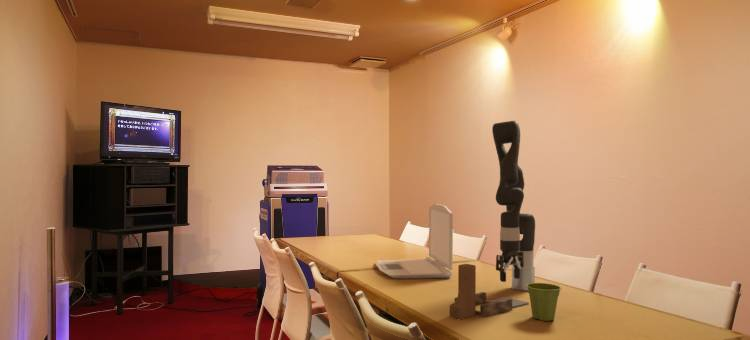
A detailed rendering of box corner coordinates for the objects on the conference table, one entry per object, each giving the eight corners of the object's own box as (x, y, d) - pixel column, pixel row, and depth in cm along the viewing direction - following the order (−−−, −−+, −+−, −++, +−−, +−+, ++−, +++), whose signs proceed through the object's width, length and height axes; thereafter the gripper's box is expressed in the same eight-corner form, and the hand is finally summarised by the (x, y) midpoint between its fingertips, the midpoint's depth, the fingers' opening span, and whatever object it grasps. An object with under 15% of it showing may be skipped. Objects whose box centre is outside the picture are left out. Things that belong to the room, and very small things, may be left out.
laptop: (372, 265, 274) (373, 202, 275) (431, 264, 279) (431, 202, 279) (384, 281, 233) (384, 207, 234) (452, 279, 238) (452, 207, 238)
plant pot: (568, 321, 170) (568, 288, 170) (539, 324, 167) (539, 291, 167) (547, 312, 181) (547, 281, 182) (519, 314, 178) (519, 283, 178)
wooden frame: (483, 302, 196) (483, 291, 196) (512, 309, 184) (512, 299, 184) (454, 308, 186) (454, 297, 186) (483, 317, 175) (483, 305, 175)
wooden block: (458, 320, 171) (458, 268, 171) (449, 317, 174) (449, 266, 174) (475, 316, 176) (476, 265, 176) (466, 313, 180) (466, 263, 180)
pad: (505, 298, 202) (505, 296, 202) (528, 304, 193) (528, 302, 193) (489, 302, 196) (489, 300, 196) (512, 308, 187) (512, 306, 187)
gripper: (513, 236, 202) (513, 275, 202) (490, 239, 193) (490, 280, 193) (529, 238, 196) (529, 279, 196) (506, 241, 187) (506, 284, 187)
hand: (510, 279), depth 194 cm, fingers open, 8 cm apart
